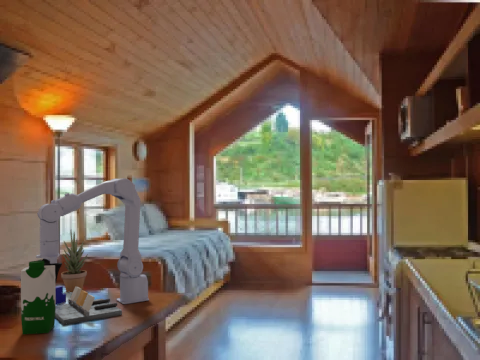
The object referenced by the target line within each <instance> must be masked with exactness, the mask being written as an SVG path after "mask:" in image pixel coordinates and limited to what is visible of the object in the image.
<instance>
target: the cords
mask: <svg viewBox="0 0 480 360" xmlns="http://www.w3.org/2000/svg"><path fill="white" fill-rule="evenodd" d="M105 302H109V303H111V298H107V299H106V298H104V300H98V301H93V303H92V304H98V303H105ZM114 306H116V307H118V303H117V302H113V303H111V304H107V305H100V306H95V307H94V309H102V308H108V307H114Z"/></svg>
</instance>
